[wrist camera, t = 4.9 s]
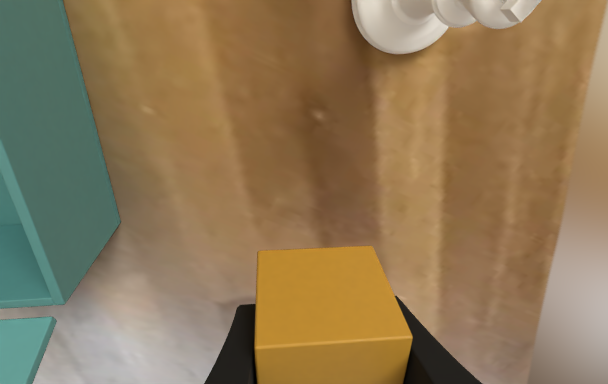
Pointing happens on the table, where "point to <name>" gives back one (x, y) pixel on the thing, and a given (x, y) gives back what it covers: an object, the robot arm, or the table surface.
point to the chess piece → (430, 19)
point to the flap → (23, 348)
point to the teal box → (47, 160)
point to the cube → (327, 319)
